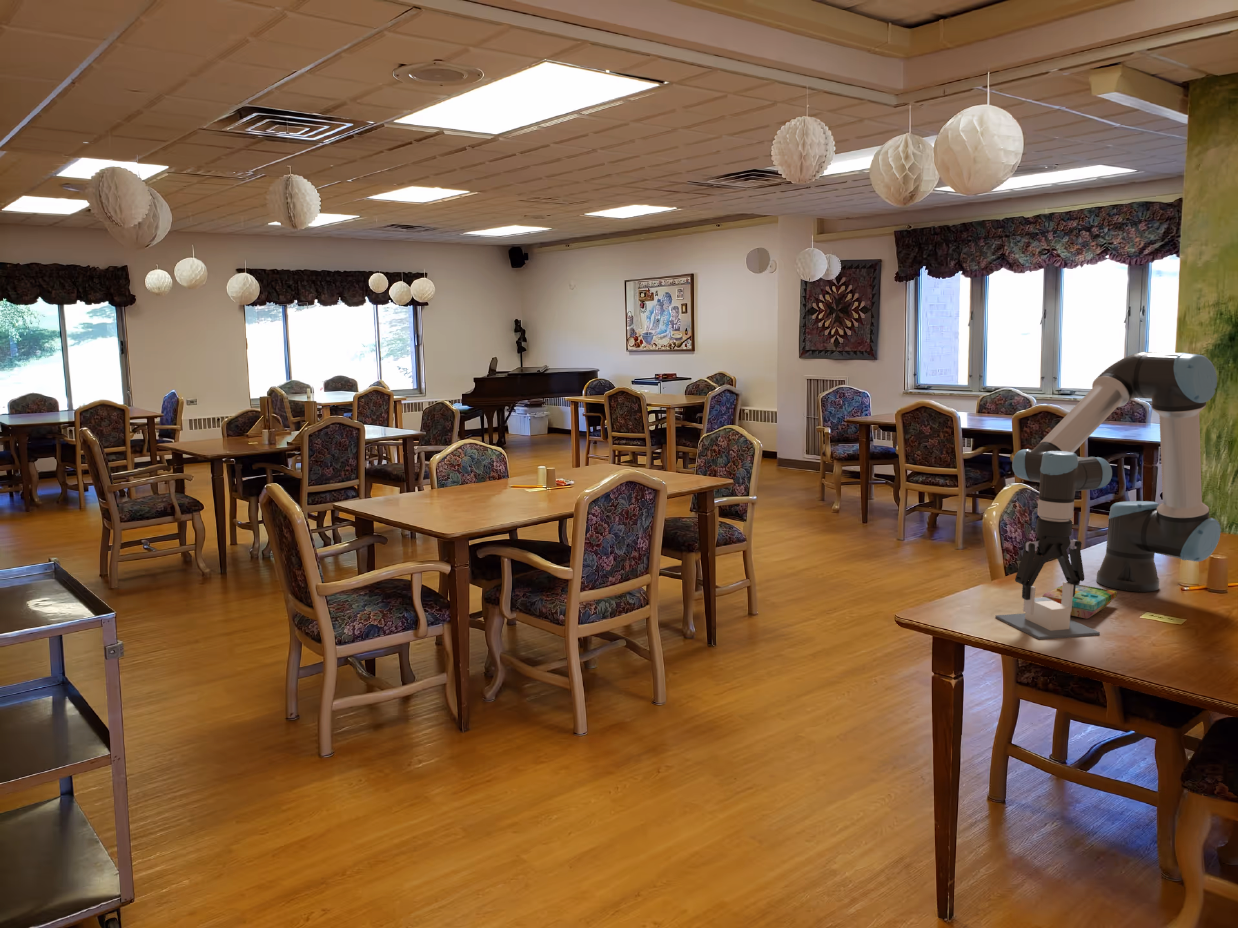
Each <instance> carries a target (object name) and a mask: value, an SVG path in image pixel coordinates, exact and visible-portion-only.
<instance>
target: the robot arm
mask: <svg viewBox="0 0 1238 928" xmlns="http://www.w3.org/2000/svg"><path fill="white" fill-rule="evenodd" d="M1217 385H1218V376H1217V372H1216V368H1215V366H1214V364H1213V362H1212V361H1211V360H1210V359H1209V358H1208V357H1207V356H1205V355H1202V354H1199V353H1198V354H1196V353H1190V352H1152V351H1141V352H1137V353H1133V354H1131V355H1127V356H1126V357H1124V358H1122V359H1119V360H1117V361H1115V363H1113V364H1111V365H1110V366H1109V367H1108V368H1105V370H1103V371H1102V372H1101V373H1100V374H1099V375H1098V376H1097V377H1096V378H1095V379H1094V381H1093V382H1092V386H1091V387H1092V388H1091V389H1090V390H1089V391H1088V392H1087V393H1086V395H1084V397H1082V399H1081V400H1080V401H1079V402H1078V403H1077V404H1075V406H1073V407H1072V409H1071V410H1070V411H1069V412H1068V413H1067V414H1066V415H1065V416H1064V417H1063V418H1062V419H1061V420H1060V421H1059V422H1058V423H1057V424H1056V425H1055V426H1054V427H1053V428H1052V429H1051V431H1050V432H1048V434H1046V435H1045V437H1043V439H1042V440H1041V441H1040V442H1039V443H1038V444H1037V445H1036V446H1035V447H1034V448H1033V449H1031V448H1027V449H1024V448H1023V449H1021V450H1018V451H1017V452H1016V453H1015V454H1014V456H1013V457H1012V458H1013V459H1012V464H1011V467H1012V471H1013V473H1014V475H1015V476H1016V477H1017V478H1019V479H1022V480H1025V481H1029V482H1035V483H1036V482H1037V483H1039V493H1038V503H1037V516H1038V517H1037V518H1036V526H1035V531H1036V535H1037V536H1036V539H1035V540H1034V541H1027V540H1026V541H1024V542H1023V553H1022V556H1021V559H1020V562H1019V564H1018V568H1017V571H1016V575H1015V578H1014V581H1015V582H1016V583H1018V584H1020V585H1021V586H1022V588H1021V589H1022V590H1021V598H1022V599H1023V607H1022V608H1023V609H1022V611H1023V612H1024V613H1028V614H1033V613H1034V601H1035V598H1036V586H1033V585H1034V583H1035V582H1036V580H1037V578H1038V576H1039V574H1040V573H1041V571H1042V569H1043V567H1044V565H1045V564H1046V563H1047V562H1048V561H1049V559H1054V558H1056V559H1057V561H1058V564H1059V565H1060V569H1061V570H1062V572H1063V575H1064V578H1065V581H1062V585H1063V588H1062V600H1061V604H1062V605H1064V606H1067V607H1069V608H1071V610H1072V599H1073V597H1074V596H1075V589H1076V585H1081V584H1080V583H1081V582H1083V581H1085V572H1084V566H1083V560H1082V553H1081V550H1082V541H1080V540H1079V539H1078V540H1077V539H1074V538H1071V539H1070V537H1071V535H1072V531H1073V521H1072V520H1071V519H1073V518H1074V512H1075V510H1074V509H1075V494H1076V492H1079V491H1080V492H1081V491H1088V490H1091V491H1093V490H1097V489H1101V488H1104V487H1106V486H1107V485H1108V484H1109V483H1110V482H1111V479H1112V477H1113V469H1112V466H1111V465H1110V463H1109V462H1108V461H1107V460H1106V459H1105V458H1103V457H1099V456H1097V457H1095V456H1088V457H1083V456H1078V455H1077V453H1075V452H1076V451H1077V450H1078V449H1079V448H1080V447H1081V445H1082V444H1084V442H1086V440H1087V439H1089V437H1090V436H1092V434H1093V433H1094V432H1095V431H1096V430H1097V429H1098V428H1099V427H1100V426H1101V425H1102V423H1104V422H1105V420H1106V419H1107V418H1108V417H1109V416H1110V415H1111V414H1112V413H1113V412H1114V411H1115V410H1116V409H1117V408H1120V407H1124V406H1125V405H1126V404H1127V403H1128V402H1129V401H1131V400H1133V399H1139V398H1144V399H1151V404H1152V405H1151V409H1152V410H1153V411H1154V412H1156V413H1157V414H1158V415H1159V434H1160V435H1159V437H1160V460H1161V461H1160V463H1161V464H1160V465H1161V482H1162V484H1161V485H1162V486H1161V487H1162V503H1159V502H1156V501H1149V500H1145V501H1144V500H1135V501H1133V500H1131V501H1127V500H1126V501H1119V502H1115V503H1113V504H1112V505H1111V506H1110V508H1109V510H1110V511H1109V512H1108V513H1109V515H1108V518H1107V519H1108V521H1107V522H1108V524H1107V525H1108V526H1107V535H1106V536H1107V537H1106V547H1105V548H1106V549H1105V555H1104V558H1103V560H1102V562H1101V565H1100V567H1099V570H1098V571H1097V572H1096V580H1095V581H1096V582H1097V583H1098V584H1100V585H1102V586H1104V587H1108V588H1111V589H1116V590H1120V591H1126V592H1138V593H1140V592H1141V593H1144V592H1145V593H1146V592H1148V593H1149V592H1155V591H1157V590H1159V589H1160V578H1159V575H1158V572H1157V571H1158V570H1157V566H1156V563H1155V554H1157V555H1161V556H1162V555H1163V556H1167V557H1170V558H1171V557H1172V558H1175V559H1178V560H1179V559H1180V560H1182V561H1191V562H1196V563H1197V562H1203V561H1205V560H1207V559H1208V558H1209V557H1210V556H1211V555H1212V554H1213V553H1214V551H1215V550H1216V548H1217V545H1218V544H1219V542H1220V539H1221V538H1220V537H1221V534H1222V533H1221V532H1222V531H1221V523H1219V521H1218V520H1217V519H1215V518H1214V517H1210V507H1209V506H1208V505H1207V504H1205V503H1204V502H1203V497H1202V496H1203V495H1202V463H1201V462H1202V459H1201V433H1200V432H1201V429H1200V428H1201V427H1200V426H1201V425H1200V424H1201V423H1200V422H1201V421H1200V413H1201V411H1202V410H1203V409H1205V408H1206V406H1207V402H1209V401H1210V400H1212V398H1213V397H1214V395H1215V393H1216V390H1215V389H1217V387H1218V386H1217ZM1067 549H1068V551H1067ZM1068 552H1069V554H1068Z"/></svg>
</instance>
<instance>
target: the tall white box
mask: <svg viewBox="0 0 1238 928" xmlns="http://www.w3.org/2000/svg"><path fill="white" fill-rule="evenodd" d="M1024 613H1025V619H1027V620H1029V621H1031V622H1033V623H1035V624H1038V625H1040V626H1042V627H1044V628H1046V629H1048V630H1050V631H1051V630H1064V629H1069V625H1070V619H1071V615H1070V613H1071V608H1069V607H1067V606H1064V605H1062V604H1060V603H1057V602H1055V601H1053V600H1051V599H1048V598H1046V597H1043V596H1042V597H1035V601H1034V613H1033V614H1028V613H1026V612H1024Z"/></svg>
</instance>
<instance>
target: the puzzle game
mask: <svg viewBox="0 0 1238 928" xmlns="http://www.w3.org/2000/svg"><path fill="white" fill-rule="evenodd" d="M1062 588H1063V584H1062V585H1061V586H1058V587H1056V588H1054V589H1052V590H1049V591H1047V592H1046V593H1043V595H1042V597H1046V598H1048V599H1051V600H1053V601H1055V602H1057V603H1060V604H1061V600H1062ZM1117 595H1118V591H1116V590H1111V589H1105V588H1100V587H1095V586H1090V585H1084V584H1079V585H1076V589H1075V596H1074V597H1073V599H1072V610H1071V613H1070V616H1071V617H1078V618H1083V619H1086V620H1087V619H1089V618H1091V617H1092V616H1095V614H1097V613H1099V612H1100V611H1102V610H1104V609H1105V608H1106V607H1107V606H1108V605H1109V604H1111V601H1112V600H1114V599H1115V598H1116V597H1117Z"/></svg>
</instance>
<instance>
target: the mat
mask: <svg viewBox="0 0 1238 928" xmlns="http://www.w3.org/2000/svg"><path fill="white" fill-rule="evenodd" d="M1025 613H1026V612H1024V613H1011V614H998V615H997V614H996V615H995V619H997V620H999V621H1001V622H1003V623H1005V624H1007V625H1009V626H1011V627H1013V628H1015V629H1017V630H1019V631H1021V632H1023V633H1024V634H1027V635H1028V636H1030V637H1033V638H1035V639H1037V640H1047V639H1062V638H1063V639H1064V638H1075V637H1076V638H1077V637H1086V636H1087V637H1089V636H1100V633H1101V632H1100V631H1098V630H1097V629H1094V628H1091V627H1089V626H1086V625H1085V624H1082V623H1080V622H1077V621H1075V620H1073V619H1071V618H1070V625H1069V629H1064V630H1051V631H1050V630H1048V629H1046V628H1044V627H1042V626H1040V625H1038V624H1035V623H1033V622H1031V621H1029V620H1027V619H1025Z"/></svg>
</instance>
